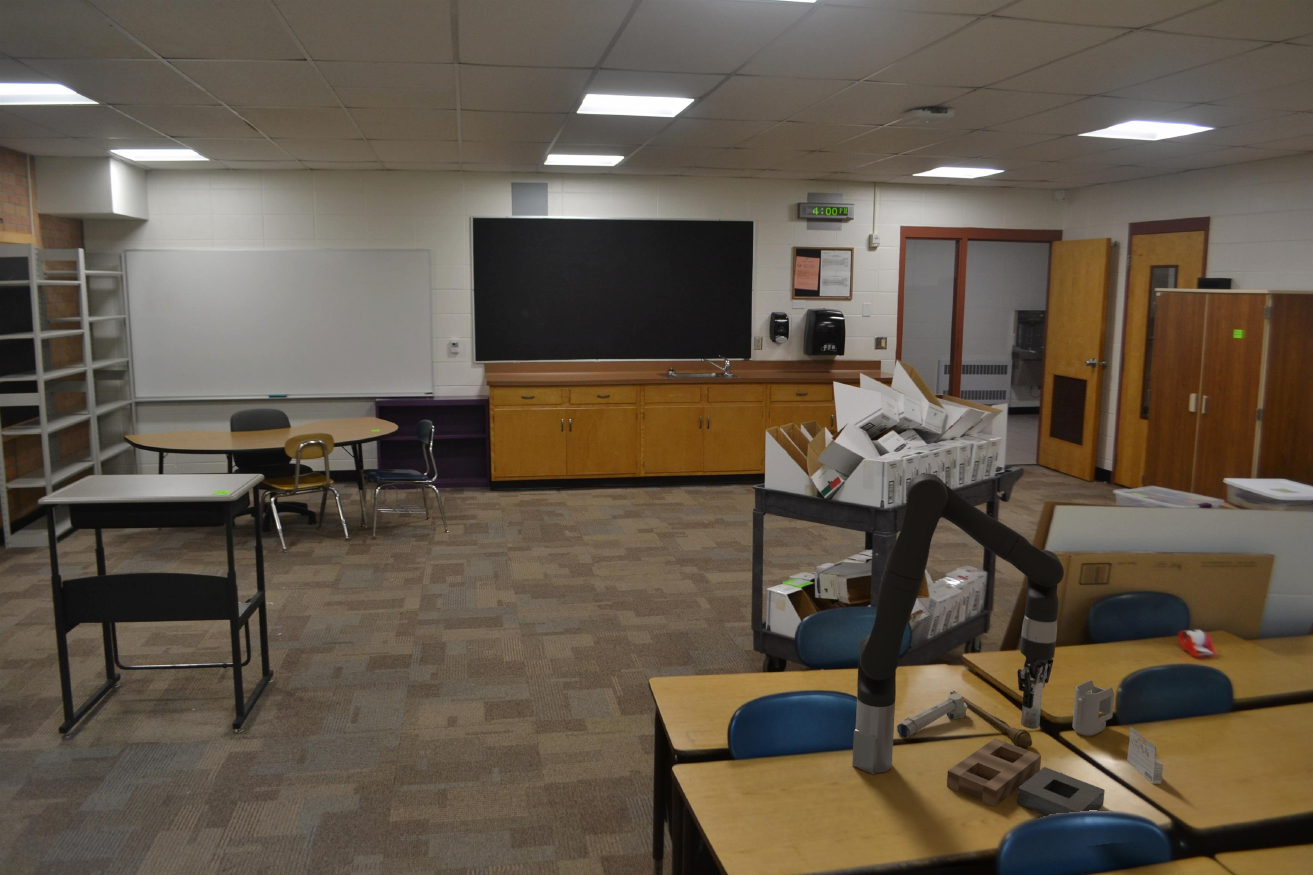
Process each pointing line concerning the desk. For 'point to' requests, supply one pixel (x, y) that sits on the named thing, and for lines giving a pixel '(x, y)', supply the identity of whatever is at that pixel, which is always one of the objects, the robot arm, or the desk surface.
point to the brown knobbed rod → (1003, 726)
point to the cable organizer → (1091, 708)
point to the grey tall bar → (1033, 709)
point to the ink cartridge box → (1144, 758)
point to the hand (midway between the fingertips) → (1031, 703)
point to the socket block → (1058, 794)
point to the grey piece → (934, 715)
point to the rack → (993, 771)
